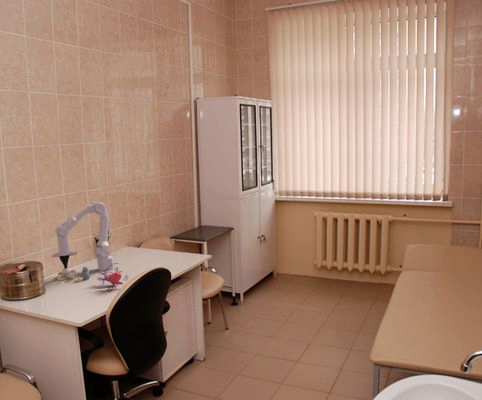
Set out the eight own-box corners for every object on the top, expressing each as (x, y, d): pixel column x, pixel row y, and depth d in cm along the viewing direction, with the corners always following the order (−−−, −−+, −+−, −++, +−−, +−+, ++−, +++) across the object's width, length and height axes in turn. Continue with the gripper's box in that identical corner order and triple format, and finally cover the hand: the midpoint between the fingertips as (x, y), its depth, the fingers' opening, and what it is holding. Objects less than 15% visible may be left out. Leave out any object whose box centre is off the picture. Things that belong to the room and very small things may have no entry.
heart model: (117, 294, 260) (90, 285, 265) (126, 292, 268) (99, 284, 273) (123, 266, 260) (96, 258, 266) (132, 266, 268) (105, 258, 274)
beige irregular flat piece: (95, 273, 295) (94, 267, 294) (92, 282, 278) (92, 275, 277) (57, 278, 290) (57, 271, 290) (53, 287, 274) (52, 279, 273)
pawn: (90, 277, 284) (88, 265, 282) (89, 279, 280) (88, 267, 279) (83, 278, 283) (82, 266, 282) (82, 280, 279) (81, 267, 278)
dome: (72, 274, 290) (71, 266, 289) (71, 277, 285) (70, 268, 284) (62, 275, 289) (61, 267, 288) (61, 278, 284) (60, 269, 283)
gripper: (49, 248, 278) (51, 271, 281) (75, 246, 281) (77, 268, 283) (51, 245, 285) (54, 267, 287) (76, 243, 288) (79, 265, 290)
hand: (65, 267), depth 286 cm, fingers closed, pressing on dome
